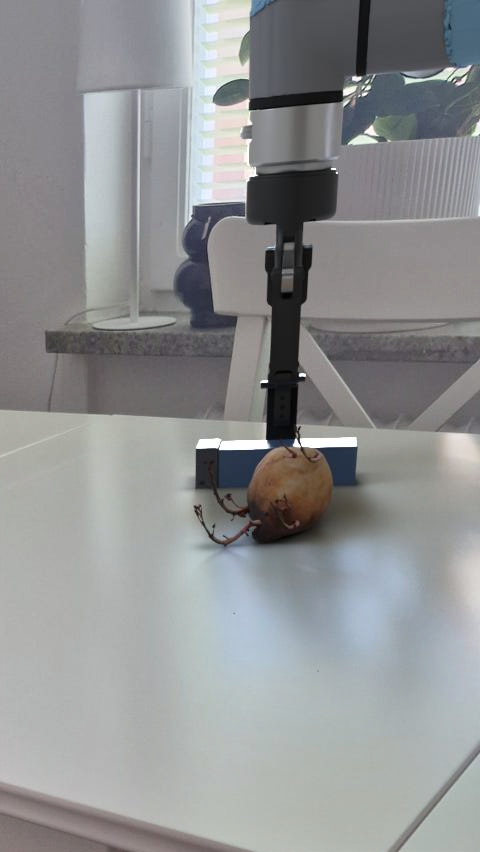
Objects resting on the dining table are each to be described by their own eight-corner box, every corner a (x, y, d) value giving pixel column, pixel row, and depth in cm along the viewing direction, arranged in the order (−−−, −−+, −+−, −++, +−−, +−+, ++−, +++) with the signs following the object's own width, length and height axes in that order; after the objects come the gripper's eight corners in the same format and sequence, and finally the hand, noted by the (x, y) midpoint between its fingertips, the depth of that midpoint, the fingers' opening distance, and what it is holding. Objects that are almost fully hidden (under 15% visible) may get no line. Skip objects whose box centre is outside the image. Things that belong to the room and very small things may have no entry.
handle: (353, 478, 106) (357, 434, 104) (354, 488, 103) (358, 444, 101) (199, 481, 109) (199, 439, 108) (195, 491, 106) (195, 448, 104)
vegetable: (181, 465, 102) (239, 356, 96) (290, 521, 103) (354, 416, 98) (172, 525, 89) (238, 404, 84) (297, 588, 90) (371, 472, 85)
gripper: (249, 170, 103) (241, 445, 115) (243, 174, 92) (235, 477, 104) (337, 163, 101) (320, 443, 113) (341, 166, 91) (322, 475, 102)
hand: (279, 459), depth 109 cm, fingers closed
